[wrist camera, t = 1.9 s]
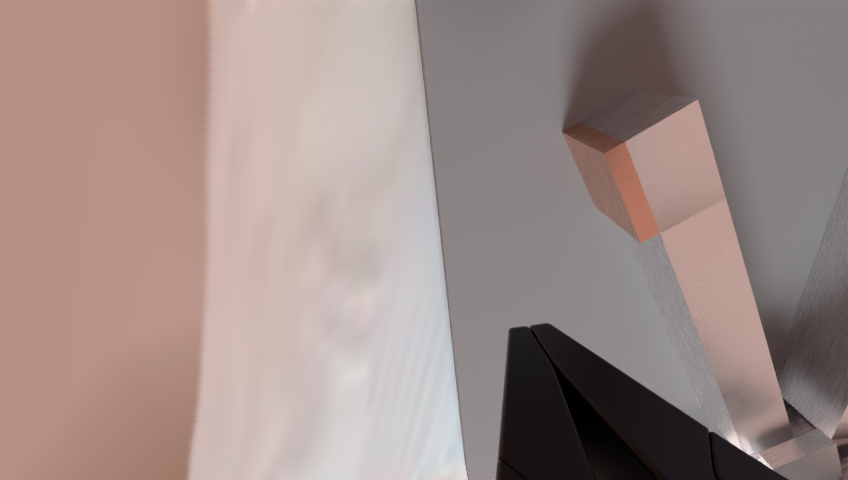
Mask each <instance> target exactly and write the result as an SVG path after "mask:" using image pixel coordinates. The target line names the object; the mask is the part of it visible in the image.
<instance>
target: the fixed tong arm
mask: <svg viewBox="0 0 848 480" xmlns="http://www.w3.org/2000/svg"><path fill="white" fill-rule="evenodd" d="M775 373H776V377H777V381H778V384H779V388H780V391H781V395H782V398H783V402H784V405H785V409H786V412H787V416H788V419H789V423H790V427H791V430H792V434H793V437H794V438H796V437H798V436H801V435H803V434H805V433H808V432H810V431H813V430H815V429H818V428H819V429H820V430H821V431H823V432H824V433H825V434H826V435H827V436H828V437H829V438H830V439H831V440H833V441H834V442H835V443H836V445H837V450H838V453H840V452H842V451H845V450H848V165H847V168H846V171H845V174H844V177H843V180H842V182H841V185H840V188H839V191H838V194H837V197H836V200H835V202H834V205H833V208H832V211H831V214H830V217H829V219H828V222H827V225H826V228H825V231H824V234H823V237H822V239H821V242H820V245H819V248H818V251H817V254H816V257H815V259H814V262H813V265H812V268H811V271H810V274H809V276H808V279H807V282H806V285H805V288H804V291H803V294H802V296H801V299H800V302H799V305H798V308H797V311H796V314H795V316H794V319H793V322H792V325H791V328H790V331H789V333H788V336H787V339H786V342H785V345H784V348H783V351H782V353H781V356H780V359H779V362H778V365H777V368H776V371H775Z"/></svg>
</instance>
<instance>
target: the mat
mask: <svg viewBox="0 0 848 480" xmlns="http://www.w3.org/2000/svg"><path fill="white" fill-rule="evenodd" d="M415 4H416V13H417V23H418V32H419V41H420V50H421V59H422V69H423V78H424V87H425V96H426V105H427V115H428V124H429V133H430V142H431V152H432V161H433V170H434V179H435V188H436V198H437V207H438V216H439V225H440V234H441V244H442V253H443V262H444V271H445V281H446V290H447V299H448V308H449V317H450V327H451V336H452V345H453V354H454V363H455V373H456V382H457V391H458V400H459V410H460V419H461V428H462V437H463V446H464V456H465V465H466V470H467V476H468V480H486V479H493V478H496V467H497V462H498V460H497V458H498V446H499V434H500V422H501V410H502V398H503V387H504V375H505V363H506V351H507V339H508V330H509V329H510V328H513V327H521V326H527V327H530V326H531V325H535V324H542V323H549V324H551V325H553V326H554V327H556V328H557V329H559V330H560V331H562V332H563V333H565V334H566V335H568V336H569V337H571V338H572V339H574V340H575V341H577V342H578V343H580V344H582V345H583V346H585V347H586V348H588V349H589V350H591V351H592V352H594V353H595V354H597V355H598V356H600V357H601V358H603V359H604V360H606V361H607V362H609V363H610V364H612V365H613V366H615V367H616V368H618V369H619V370H621V371H622V372H624V373H625V374H627V375H628V376H630V377H631V378H633V379H634V380H636V381H637V382H639V383H641V384H642V385H644V386H645V387H647V388H648V389H650V390H651V391H653V392H654V393H656V394H657V395H659V396H660V397H662V398H663V399H665V400H666V401H668V402H669V403H671V404H672V405H674V406H675V407H677V408H678V409H680V410H681V411H683V412H684V413H686V414H687V415H689V416H690V417H692V418H693V419H695V420H696V421H698V422H699V423H701V424H703V425H704V426H706V427H707V428H708V429H709V432H715V433H716V434H718V435H719V436H721V437H722V438H724V439H726V440H727V441H728V439H727V438H726V437H725V436H724V435H723V434H722V432H721V431H720V430H719V429H718V428H717V427H716V425H715V424H714V423H713V422H712V421H711V420H710V418H709V417H708V416H707V415H706V414H705V412H704V411H703V410H702V409H701V408H700V407H699V405H698V402H697V400H696V398H695V395H694V393H693V391H692V388H691V386H690V383H689V381H688V379H687V376H686V374H685V372H684V369H683V367H682V365H681V362H680V360H679V358H678V355H677V353H676V351H675V348H674V346H673V344H672V341H671V339H670V337H669V334H668V332H667V330H666V327H665V325H664V323H663V320H662V318H661V315H660V313H659V311H658V308H657V306H656V304H655V301H654V299H653V297H652V294H651V292H650V290H649V287H648V285H647V283H646V280H645V278H644V276H643V273H642V271H641V269H640V266H639V264H638V262H637V259H636V257H635V255H634V252H633V250H632V247H631V245H630V243H629V240H628V238H627V236H626V233H625V231H624V230H623V229H622V228H621V227H620V226H618V225H617V224H616V223H614V222H613V221H612V220H611V219H609V218H608V217H607V216H606V215H604V214H603V213H602V212H601V211H599V210H598V209H597V208H596V207H595V205H594V203H593V201H592V198H591V196H590V194H589V192H588V190H587V187H586V185H585V183H584V181H583V178H582V176H581V174H580V172H579V170H578V167H577V165H576V163H575V161H574V158H573V156H572V154H571V152H570V150H569V147H568V145H567V143H566V141H565V138H564V136H563V134H562V132H563V131H565V130H567V129H568V128H570V127H572V126H573V125H575V124H577V123H578V122H580V121H582V120H583V119H585V118H587V117H588V116H590V115H592V114H593V113H595V112H597V111H598V110H600V109H602V108H603V107H605V106H607V105H608V104H610V103H612V102H613V101H615V100H617V99H618V98H620V97H622V96H624V95H625V94H627V93H629V92H630V91H632V90H634V89H640V90H646V91H652V92H658V93H663V94H669V95H675V96H681V97H687V98H693V99H698V101H699V104H700V108H701V111H702V115H703V119H704V122H705V126H706V129H707V133H708V136H709V140H710V143H711V147H712V150H713V154H714V157H715V161H716V165H717V168H718V172H719V175H720V179H721V182H722V186H723V189H724V193H725V196H726V200H727V204H728V207H729V211H730V214H731V218H732V221H733V225H734V228H735V232H736V235H737V239H738V242H739V246H740V250H741V253H742V257H743V260H744V264H745V267H746V271H747V274H748V278H749V281H750V285H751V288H752V292H753V296H754V299H755V303H756V306H757V310H758V313H759V317H760V320H761V324H762V327H763V331H764V335H765V338H766V342H767V345H768V349H769V352H770V356H771V359H772V363H773V366H774V370H775V371H776V368H777V365H778V362H779V359H780V356H781V353H782V351H783V348H784V345H785V342H786V339H787V336H788V333H789V331H790V328H791V325H792V322H793V319H794V316H795V314H796V311H797V308H798V305H799V302H800V299H801V296H802V294H803V291H804V288H805V285H806V282H807V279H808V276H809V274H810V271H811V268H812V265H813V262H814V259H815V257H816V254H817V251H818V248H819V245H820V242H821V239H822V237H823V234H824V231H825V228H826V225H827V222H828V219H829V217H830V214H831V211H832V208H833V205H834V202H835V200H836V197H837V194H838V191H839V188H840V185H841V182H842V180H843V177H844V174H845V171H846V168H847V165H848V0H415Z"/></svg>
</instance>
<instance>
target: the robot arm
mask: <svg viewBox="0 0 848 480" xmlns="http://www.w3.org/2000/svg"><path fill="white" fill-rule="evenodd" d="M497 460H498V462H497V467H496V479H495V480H789V479H787V478H785V477H784V476H782V475H780V474H779V473H777V472H775V471H774V470H772V469H771V468H769V467H768V466H766V465H764V464H763V463H761V462H760V461H758V460H757V459H755V458H753V457H752V456H750V455H749V454H747V453H746V452H744V451H742V450H741V449H739V448H738V447H736V446H735V445H733V444H732V443H730V442H729V441H727V440H726V439H724V438H722V437H721V436H719V435H718V434H716V433H715V432H709V429H708V428H707V427H706V426H704V425H703V424H701V423H699V422H698V421H696V420H695V419H693V418H692V417H690V416H689V415H687V414H686V413H684V412H683V411H681V410H680V409H678V408H677V407H675V406H674V405H672V404H671V403H669V402H668V401H666V400H665V399H663V398H662V397H660V396H659V395H657V394H656V393H654V392H653V391H651V390H650V389H648V388H647V387H645V386H644V385H642V384H641V383H639V382H637V381H636V380H634V379H633V378H631V377H630V376H628V375H627V374H625V373H624V372H622V371H621V370H619V369H618V368H616V367H615V366H613V365H612V364H610V363H609V362H607V361H606V360H604V359H603V358H601V357H600V356H598V355H597V354H595V353H594V352H592V351H591V350H589V349H588V348H586V347H585V346H583V345H582V344H580V343H578V342H577V341H575V340H574V339H572V338H571V337H569V336H568V335H566V334H565V333H563V332H562V331H560V330H559V329H557V328H556V327H554V326H553V325H551V324H549V323H542V324H535V325H531V326H530V327H527V326H521V327H513V328H510V329H509V330H508V339H507V351H506V363H505V375H504V387H503V398H502V410H501V422H500V434H499V446H498V458H497Z"/></svg>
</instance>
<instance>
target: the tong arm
mask: <svg viewBox="0 0 848 480" xmlns="http://www.w3.org/2000/svg"><path fill="white" fill-rule="evenodd" d="M562 134H563V136H564V138H565V141H566V143H567V145H568V147H569V150H570V152H571V154H572V156H573V158H574V161H575V163H576V165H577V167H578V170H579V172H580V174H581V176H582V178H583V181H584V183H585V185H586V187H587V190H588V192H589V194H590V196H591V198H592V201H593V203H594V205H595V207H596V208H597V209H598V210H599V211H601V212H602V213H603V214H604V215H606V216H607V217H608V218H609V219H611V220H612V221H613V222H614V223H616V224H617V225H618V226H620V227H621V228H622V229H623V230H624V231H625V233H626V236H627V238H628V240H629V243H630V245H631V247H632V250H633V252H634V255H635V257H636V259H637V262H638V264H639V266H640V269H641V271H642V273H643V276H644V278H645V280H646V283H647V285H648V287H649V290H650V292H651V294H652V297H653V299H654V301H655V304H656V306H657V308H658V311H659V313H660V315H661V318H662V320H663V323H664V325H665V327H666V330H667V332H668V334H669V337H670V339H671V341H672V344H673V346H674V348H675V351H676V353H677V355H678V358H679V360H680V362H681V365H682V367H683V369H684V372H685V374H686V376H687V379H688V381H689V383H690V386H691V388H692V391H693V393H694V395H695V398H696V400H697V402H698V405H699V407H700V408H701V409H702V410H703V411H704V412H705V414H706V415H707V416H708V417H709V418H710V420H711V421H712V422H713V423H714V424H715V425H716V427H717V428H718V429H719V430H720V431H721V432H722V434H723V435H724V436H725V437H726V438H727V439H728V441H729V442H730V443H732V444H733V445H735V446H736V447H738V448H739V449H741V450H742V451H744V452H746V453H747V454H749V455H750V456H752V457H753V458H755V459H759V458H760V459H761V462H762V463H763V464H764V465H766V466H768V467H769V468H771V469H772V470H774V471H775V472H777V473H779V474H780V475H782V476H784V477H785V478H787V479H789V480H848V450H845V451H842V452H840V453H838V450H837V445H836V443H835V442H834V441H833V440H831V439H830V438H829V437H828V436H827V435H826V434H825V433H824V432H823V431H821V430H820V429H819V428H818V429H815V430H813V431H810V432H808V433H805V434H803V435H801V436H798V437H796V438H794V437H793V434H792V430H791V427H790V423H789V419H788V416H787V412H786V409H785V405H784V402H783V398H782V395H781V391H780V388H779V384H778V381H777V377H776V373H775V370H774V366H773V363H772V359H771V356H770V352H769V349H768V345H767V342H766V338H765V335H764V331H763V327H762V324H761V320H760V317H759V313H758V310H757V306H756V303H755V299H754V296H753V292H752V288H751V285H750V281H749V278H748V274H747V271H746V267H745V264H744V260H743V257H742V253H741V250H740V246H739V242H738V239H737V235H736V232H735V228H734V225H733V221H732V218H731V214H730V211H729V207H728V204H727V200H726V196H725V193H724V189H723V186H722V182H721V179H720V175H719V172H718V168H717V165H716V161H715V157H714V154H713V150H712V147H711V143H710V140H709V136H708V133H707V129H706V126H705V122H704V119H703V115H702V111H701V108H700V104H699V101H698V99H693V98H687V97H681V96H675V95H669V94H663V93H658V92H652V91H646V90H640V89H634V90H632V91H630V92H629V93H627V94H625V95H624V96H622V97H620V98H618V99H617V100H615V101H613V102H612V103H610V104H608V105H607V106H605V107H603V108H602V109H600V110H598V111H597V112H595V113H593V114H592V115H590V116H588V117H587V118H585V119H583V120H582V121H580V122H578V123H577V124H575V125H573V126H572V127H570V128H568V129H567V130H565V131H563V132H562Z"/></svg>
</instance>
